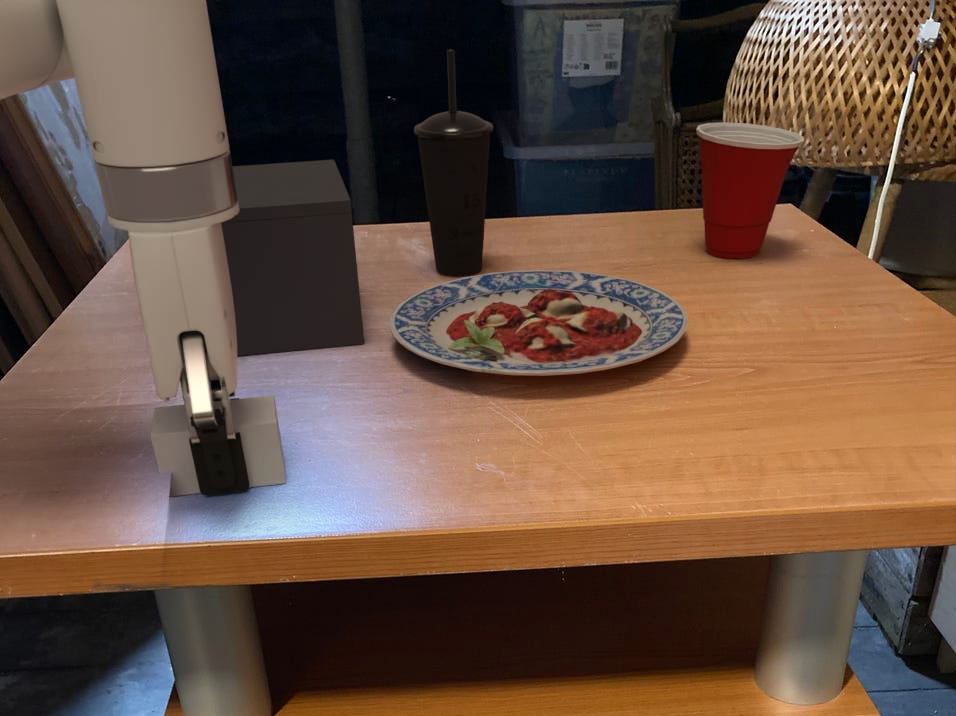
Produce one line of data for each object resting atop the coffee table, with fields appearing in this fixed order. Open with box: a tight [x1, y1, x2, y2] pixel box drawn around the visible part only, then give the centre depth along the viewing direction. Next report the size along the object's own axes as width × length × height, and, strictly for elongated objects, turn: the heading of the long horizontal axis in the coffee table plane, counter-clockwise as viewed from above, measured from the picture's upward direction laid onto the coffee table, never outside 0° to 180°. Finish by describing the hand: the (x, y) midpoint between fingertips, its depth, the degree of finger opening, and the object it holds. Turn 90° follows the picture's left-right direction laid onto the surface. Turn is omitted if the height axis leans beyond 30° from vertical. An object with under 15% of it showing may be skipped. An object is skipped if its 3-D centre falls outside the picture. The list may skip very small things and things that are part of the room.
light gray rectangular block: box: [150, 395, 287, 497], centre depth 67 cm, size 8×4×4 cm, turn 101°
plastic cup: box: [695, 121, 805, 259], centre depth 104 cm, size 11×11×12 cm
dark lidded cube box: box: [221, 159, 365, 357], centre depth 90 cm, size 14×16×12 cm
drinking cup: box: [413, 49, 494, 277], centre depth 99 cm, size 8×8×20 cm
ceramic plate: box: [389, 269, 689, 377], centre depth 87 cm, size 26×26×3 cm
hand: (225, 470), depth 68 cm, fingers open, 4 cm apart
